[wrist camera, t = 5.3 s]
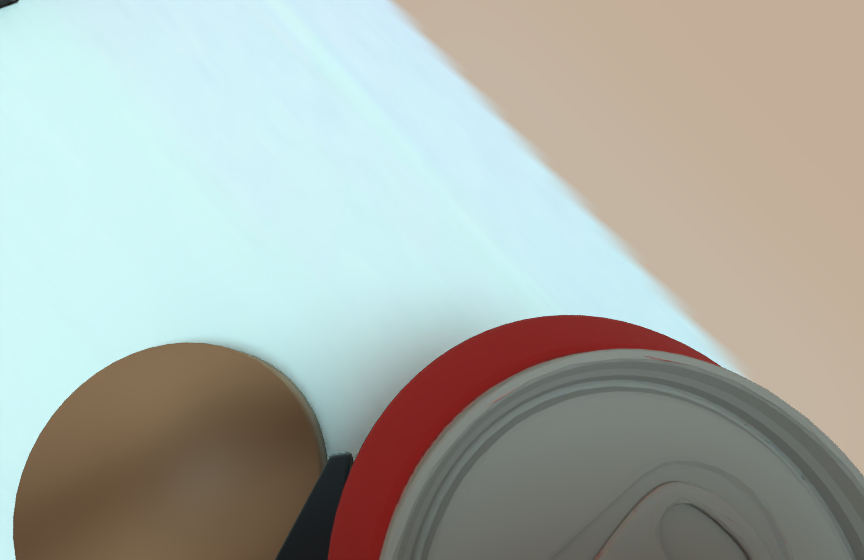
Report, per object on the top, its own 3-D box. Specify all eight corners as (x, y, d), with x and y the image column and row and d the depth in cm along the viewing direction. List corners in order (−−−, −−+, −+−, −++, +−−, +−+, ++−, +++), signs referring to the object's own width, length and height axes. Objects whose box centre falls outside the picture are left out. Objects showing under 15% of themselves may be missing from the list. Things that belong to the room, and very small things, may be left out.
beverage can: (340, 473, 15) (119, 674, 4) (471, 330, 17) (595, 168, 5) (488, 629, 14) (792, 1542, 3) (615, 462, 16) (1154, 614, 4)
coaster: (375, 529, 15) (371, 542, 14) (112, 705, 14) (77, 741, 12) (256, 302, 17) (241, 293, 16) (13, 435, 15) (-28, 438, 14)
